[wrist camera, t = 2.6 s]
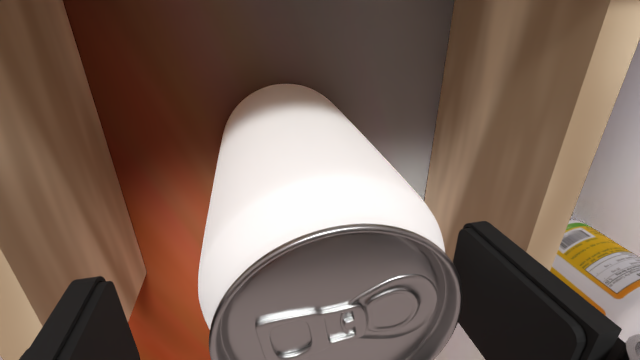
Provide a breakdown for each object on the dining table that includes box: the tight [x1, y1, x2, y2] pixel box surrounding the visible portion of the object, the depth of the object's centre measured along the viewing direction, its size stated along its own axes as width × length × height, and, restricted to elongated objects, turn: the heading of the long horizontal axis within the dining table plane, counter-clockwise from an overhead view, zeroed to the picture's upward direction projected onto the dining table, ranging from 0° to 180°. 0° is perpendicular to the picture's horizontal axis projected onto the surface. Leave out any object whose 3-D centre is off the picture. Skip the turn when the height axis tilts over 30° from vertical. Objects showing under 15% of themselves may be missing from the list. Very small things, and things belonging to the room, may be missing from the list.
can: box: [198, 84, 462, 360], centre depth 13 cm, size 6×6×12 cm
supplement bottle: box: [550, 220, 640, 343], centre depth 21 cm, size 5×5×10 cm
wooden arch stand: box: [0, 0, 640, 360], centre depth 14 cm, size 20×16×9 cm
